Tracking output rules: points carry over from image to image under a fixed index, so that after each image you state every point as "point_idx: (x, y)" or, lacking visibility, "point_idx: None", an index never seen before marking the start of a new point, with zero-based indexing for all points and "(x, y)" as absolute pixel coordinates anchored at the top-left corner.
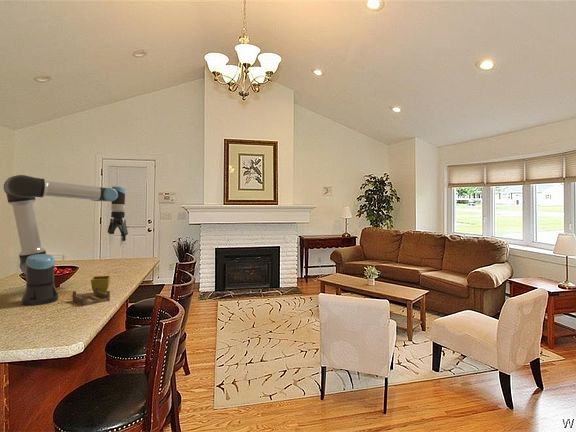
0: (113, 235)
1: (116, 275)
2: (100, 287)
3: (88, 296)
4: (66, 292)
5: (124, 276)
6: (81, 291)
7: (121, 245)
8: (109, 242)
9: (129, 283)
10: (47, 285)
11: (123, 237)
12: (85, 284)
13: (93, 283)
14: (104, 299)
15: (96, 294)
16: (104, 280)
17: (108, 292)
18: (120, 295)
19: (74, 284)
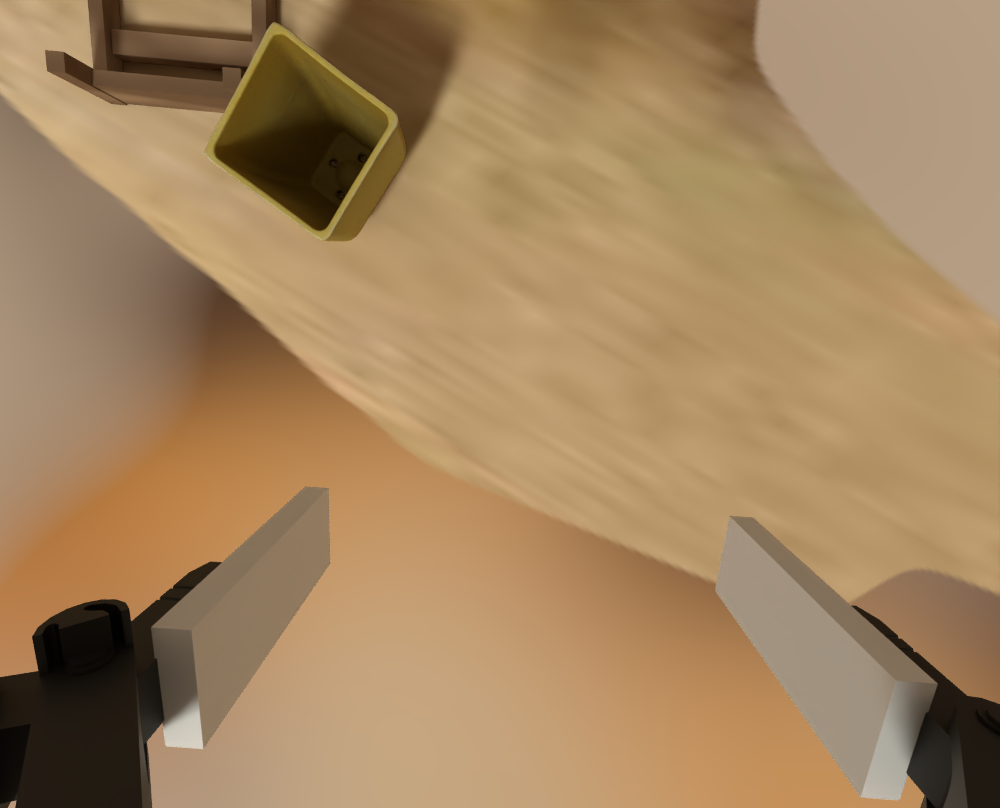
0: (838, 735)
1: None
2: (279, 128)
3: (253, 23)
4: (570, 25)
5: None
6: (512, 118)
7: (298, 501)
8: (767, 537)
9: (480, 469)
10: None
11: (135, 620)
12: (708, 258)
13: (283, 61)
14: (96, 56)
15: None
16: (225, 129)
17: (54, 63)
18: (197, 230)
19: (780, 205)
